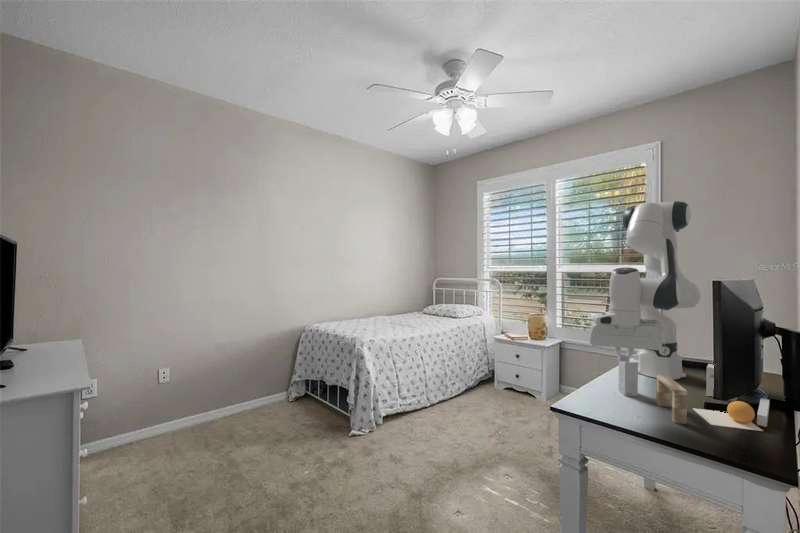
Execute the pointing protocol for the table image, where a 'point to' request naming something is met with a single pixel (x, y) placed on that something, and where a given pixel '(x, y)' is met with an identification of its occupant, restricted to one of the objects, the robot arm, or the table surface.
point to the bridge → (677, 398)
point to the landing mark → (724, 420)
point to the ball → (741, 411)
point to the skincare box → (628, 378)
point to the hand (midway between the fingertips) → (623, 361)
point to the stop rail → (763, 412)
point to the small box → (710, 380)
